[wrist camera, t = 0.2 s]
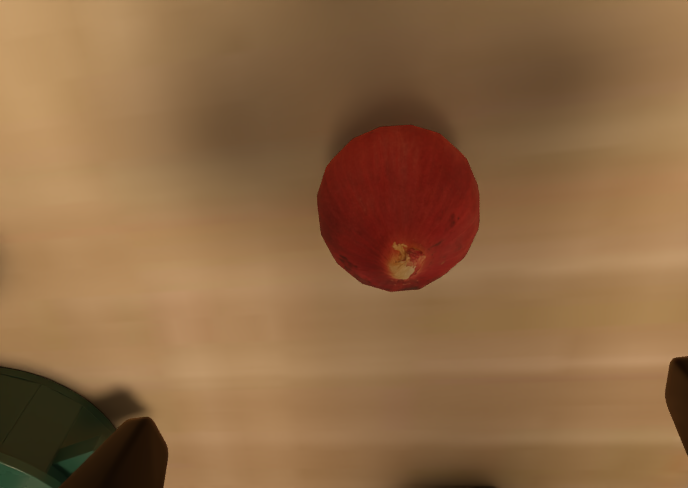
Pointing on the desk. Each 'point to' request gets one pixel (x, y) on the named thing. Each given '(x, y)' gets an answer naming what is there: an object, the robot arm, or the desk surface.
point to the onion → (398, 207)
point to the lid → (23, 474)
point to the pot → (48, 424)
